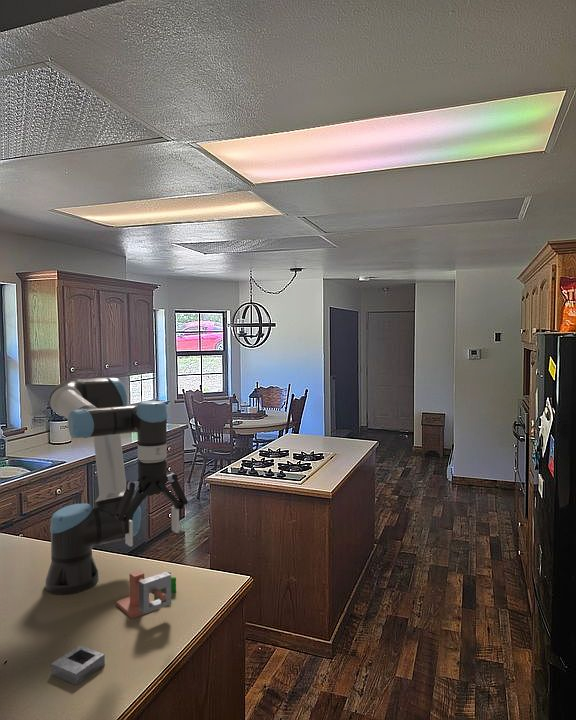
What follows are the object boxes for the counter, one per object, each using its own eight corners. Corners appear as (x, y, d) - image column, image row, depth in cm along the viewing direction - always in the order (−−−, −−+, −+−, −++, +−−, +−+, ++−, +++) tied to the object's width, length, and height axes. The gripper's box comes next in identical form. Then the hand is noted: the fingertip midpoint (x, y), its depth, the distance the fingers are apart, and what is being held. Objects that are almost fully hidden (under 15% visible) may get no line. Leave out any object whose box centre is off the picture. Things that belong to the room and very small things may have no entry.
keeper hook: (116, 604, 147) (115, 571, 147) (142, 595, 153) (141, 563, 152) (151, 634, 132) (150, 597, 132) (178, 622, 138) (178, 587, 137)
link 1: (51, 674, 116) (51, 663, 116) (80, 655, 123) (80, 645, 123) (76, 685, 113) (76, 674, 113) (104, 664, 120) (104, 654, 120)
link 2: (139, 610, 137) (139, 580, 136) (166, 600, 142) (166, 571, 142) (143, 614, 135) (143, 584, 134) (171, 603, 140) (170, 574, 140)
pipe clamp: (167, 606, 147) (166, 590, 147) (154, 605, 147) (154, 589, 147) (179, 587, 158) (179, 572, 158) (167, 586, 158) (167, 571, 158)
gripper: (113, 470, 127) (114, 555, 128) (200, 454, 144) (200, 530, 145) (100, 464, 132) (101, 546, 133) (185, 450, 149) (185, 522, 150)
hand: (153, 538), depth 139 cm, fingers open, 13 cm apart
